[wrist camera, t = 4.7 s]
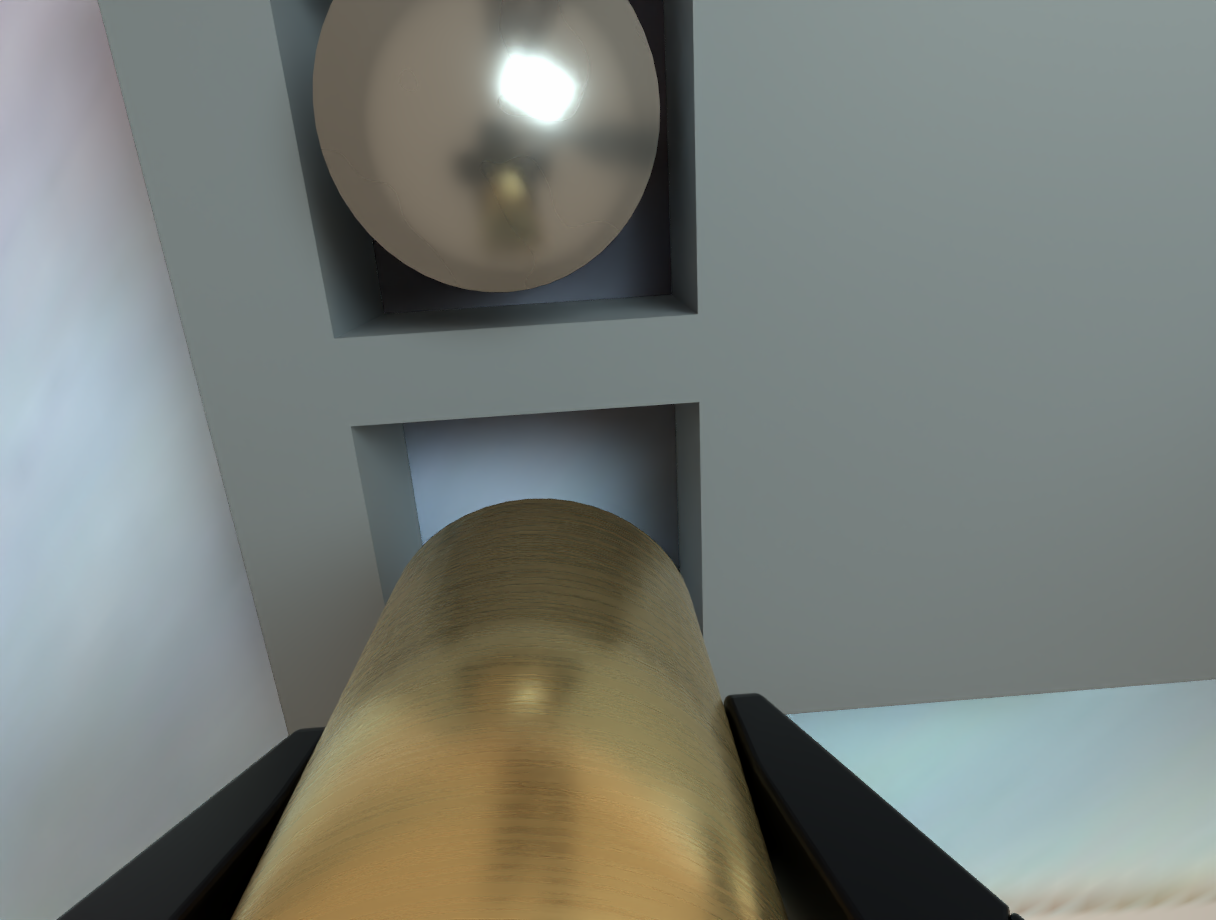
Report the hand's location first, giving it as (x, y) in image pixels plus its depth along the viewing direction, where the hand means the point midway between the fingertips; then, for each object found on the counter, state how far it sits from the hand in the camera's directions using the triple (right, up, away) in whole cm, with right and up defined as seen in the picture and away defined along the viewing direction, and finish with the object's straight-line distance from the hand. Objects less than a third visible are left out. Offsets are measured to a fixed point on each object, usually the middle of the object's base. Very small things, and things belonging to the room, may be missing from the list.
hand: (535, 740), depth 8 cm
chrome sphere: (-1, +9, +5) cm, 10 cm away
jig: (+3, +6, +6) cm, 9 cm away
